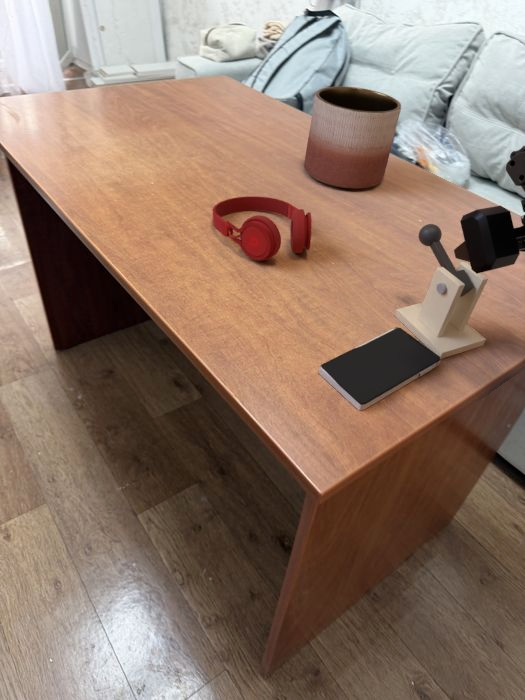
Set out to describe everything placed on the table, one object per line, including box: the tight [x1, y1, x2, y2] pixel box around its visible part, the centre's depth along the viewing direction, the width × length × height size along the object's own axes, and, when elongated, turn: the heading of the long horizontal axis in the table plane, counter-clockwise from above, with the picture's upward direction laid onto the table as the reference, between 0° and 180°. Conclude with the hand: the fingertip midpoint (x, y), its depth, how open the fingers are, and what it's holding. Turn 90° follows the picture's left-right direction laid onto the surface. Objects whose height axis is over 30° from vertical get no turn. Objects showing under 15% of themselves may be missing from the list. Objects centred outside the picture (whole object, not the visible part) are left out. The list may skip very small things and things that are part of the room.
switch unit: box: [394, 260, 489, 360], centre depth 67 cm, size 10×8×10 cm
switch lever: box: [418, 223, 474, 297], centre depth 66 cm, size 11×3×3 cm, turn 26°
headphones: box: [212, 195, 312, 261], centre depth 84 cm, size 15×7×20 cm
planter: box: [303, 85, 402, 190], centre depth 103 cm, size 18×18×16 cm
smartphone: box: [318, 326, 441, 411], centre depth 63 cm, size 8×1×15 cm
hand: (476, 249), depth 60 cm, fingers open, 7 cm apart
